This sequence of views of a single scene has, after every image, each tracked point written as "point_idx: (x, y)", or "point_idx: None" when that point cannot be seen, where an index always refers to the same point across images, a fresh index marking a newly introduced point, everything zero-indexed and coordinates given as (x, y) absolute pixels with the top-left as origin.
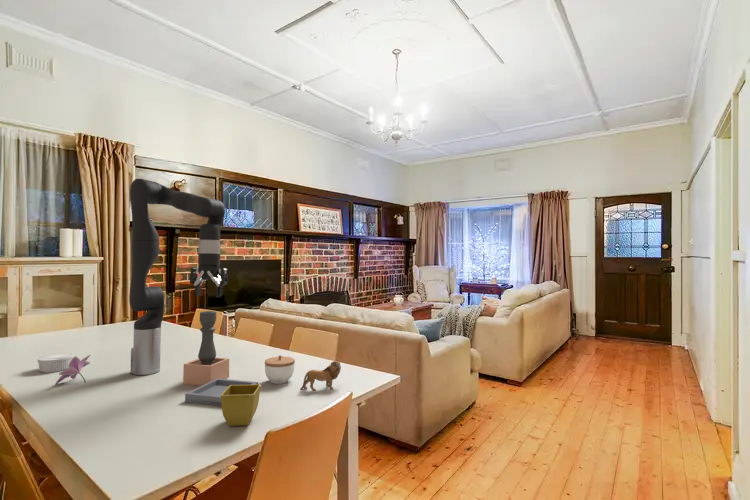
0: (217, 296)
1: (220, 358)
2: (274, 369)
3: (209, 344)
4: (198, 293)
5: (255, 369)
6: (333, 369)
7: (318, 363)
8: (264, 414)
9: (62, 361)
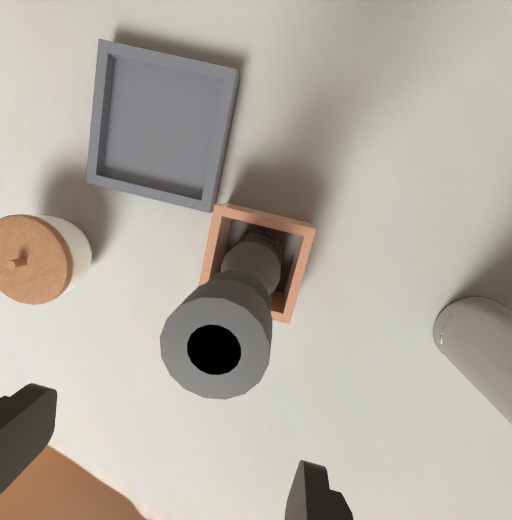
0: (34, 384)
1: None
2: (35, 215)
3: (228, 264)
4: (298, 502)
5: None
6: None
7: None
8: (15, 3)
9: None
